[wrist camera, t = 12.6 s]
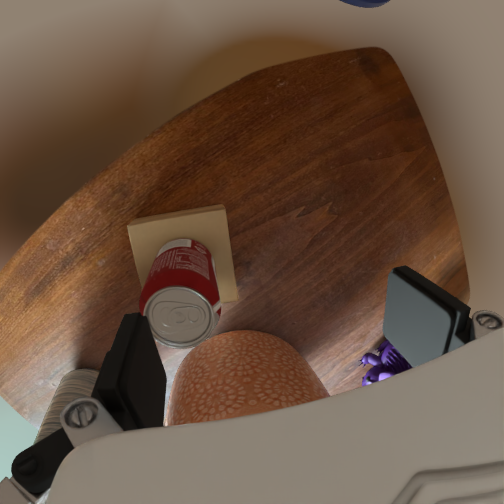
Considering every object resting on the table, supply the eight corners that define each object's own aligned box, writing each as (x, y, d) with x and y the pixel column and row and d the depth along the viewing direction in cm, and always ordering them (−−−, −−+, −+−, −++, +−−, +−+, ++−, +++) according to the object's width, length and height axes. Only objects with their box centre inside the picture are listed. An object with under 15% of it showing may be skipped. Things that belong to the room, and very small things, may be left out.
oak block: (134, 218, 35) (126, 226, 31) (223, 203, 36) (225, 209, 32) (153, 300, 38) (149, 314, 34) (234, 287, 39) (238, 301, 36)
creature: (331, 373, 47) (361, 422, 36) (412, 308, 46) (456, 344, 35) (350, 395, 50) (378, 440, 39) (424, 337, 49) (462, 371, 38)
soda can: (151, 238, 32) (127, 282, 20) (212, 233, 33) (219, 275, 21) (159, 295, 34) (144, 357, 23) (216, 290, 35) (226, 352, 24)
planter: (197, 287, 39) (199, 389, 21) (327, 331, 44) (387, 417, 26) (153, 394, 43) (144, 493, 25) (266, 420, 49) (292, 506, 31)
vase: (133, 414, 44) (120, 528, 22) (73, 405, 41) (42, 508, 20) (124, 365, 40) (95, 494, 19) (58, 355, 38) (4, 466, 17)
